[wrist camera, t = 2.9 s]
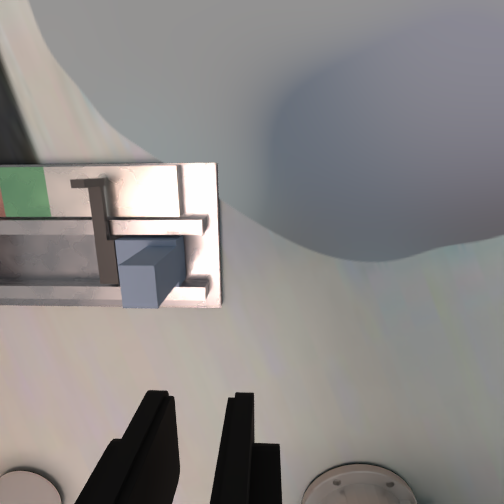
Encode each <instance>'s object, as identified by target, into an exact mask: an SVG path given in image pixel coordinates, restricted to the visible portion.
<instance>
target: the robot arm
mask: <svg viewBox="0 0 504 504" xmlns="http://www.w3.org/2000/svg"><path fill="white" fill-rule="evenodd" d="M179 475H180V461H179V449H178V436H177V424H176V411H175V400H174V396H169V394H168V391H158V390H149V391H147V393H146V394H145V396H144V398H143V400H142V402H141V404H140V405H139V407H138V409H137V411H136V413H135V415H134V417H133V418H132V420H131V422H130V424H129V426H128V428H127V429H126V431H125V433H124V435H123V437H122V439H113V440H112V441H111V442H110V443H109V445H108V446H107V448H106V450H105V451H104V453H103V455H102V457H101V458H100V460H99V462H98V464H97V465H96V467H95V469H94V471H93V472H92V474H91V476H90V478H89V479H88V481H87V483H86V484H85V486H84V488H83V490H82V491H81V493H80V495H79V497H78V498H77V500H76V502H75V504H172V502H173V498H174V495H175V491H176V488H177V484H178V481H179ZM210 504H282V490H281V465H280V445H279V444H268V443H254V393H240V392H236V393H235V398H230V397H229V398H228V402H227V408H226V413H225V419H224V425H223V431H222V436H221V442H220V448H219V454H218V459H217V465H216V471H215V477H214V482H213V488H212V494H211V500H210ZM302 504H417V501H416V499H415V497H414V494H413V492H412V490H411V488H410V487H409V486H408V484H407V483H406V482H405V481H404V480H403V479H402V478H400V477H399V476H398V475H396V474H395V473H393V472H391V471H389V470H387V469H384V468H381V467H378V466H373V465H368V464H353V465H345V466H341V467H338V468H334V469H332V470H330V471H328V472H326V473H324V474H322V475H321V476H320V477H318V478H317V479H316V480H315V481H314V482H313V483H312V484H311V485H310V486H309V487H308V489H307V490H306V492H305V494H304V497H303V500H302Z"/></svg>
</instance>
